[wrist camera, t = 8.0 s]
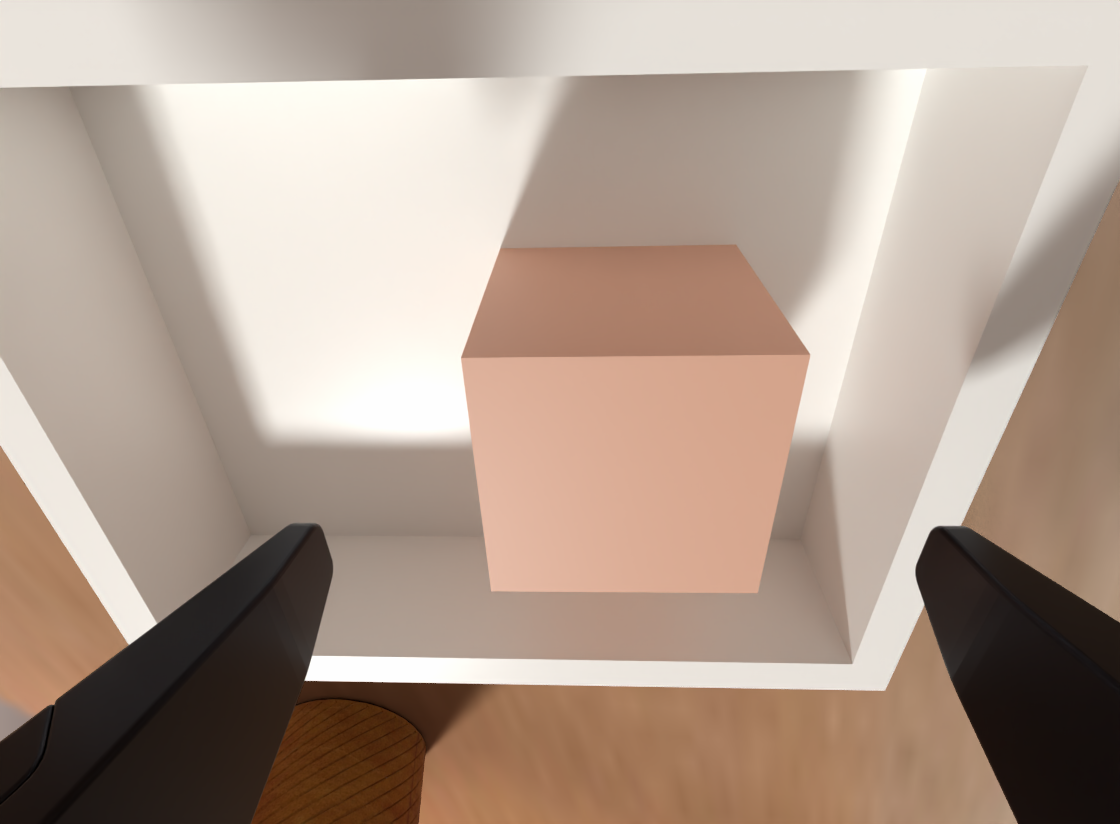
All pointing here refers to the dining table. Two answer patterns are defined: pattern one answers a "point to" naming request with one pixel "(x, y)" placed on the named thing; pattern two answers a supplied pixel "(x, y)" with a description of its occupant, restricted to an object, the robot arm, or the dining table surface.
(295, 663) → the robot arm
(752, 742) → the dining table surface
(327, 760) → the disposable coffee cup
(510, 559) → the terracotta cube
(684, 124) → the tote
